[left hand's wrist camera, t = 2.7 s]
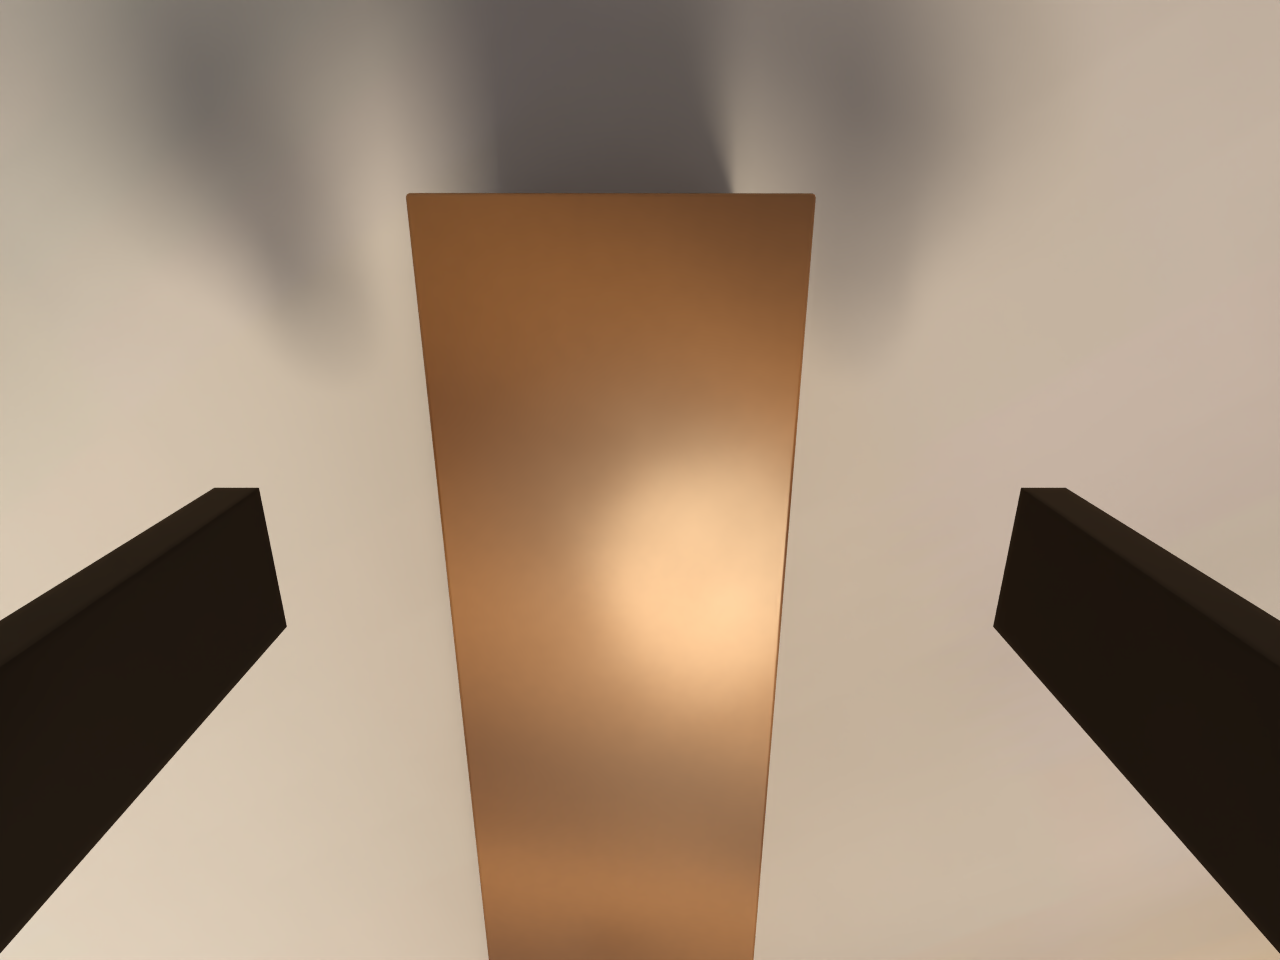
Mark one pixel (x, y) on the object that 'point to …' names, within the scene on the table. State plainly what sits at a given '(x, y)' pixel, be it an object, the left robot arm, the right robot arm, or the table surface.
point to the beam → (615, 548)
